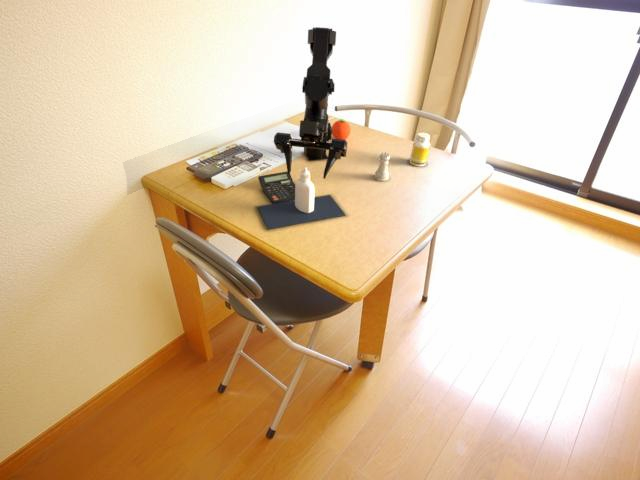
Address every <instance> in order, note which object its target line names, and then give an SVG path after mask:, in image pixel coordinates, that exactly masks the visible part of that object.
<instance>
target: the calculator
mask: <svg viewBox="0 0 640 480" xmlns="http://www.w3.org/2000/svg"><path fill="white" fill-rule="evenodd" d="M257 178H258V181H259V184H260V187H261V190H262V192H263V194H264V195H265V197H266V198H267V199H268V201H269V202H270V204H276V203H283V202H289V201H295V182H294V180H293V177H292V175H291V174H290V175H288V171H282V172H275V173H269V174H264V175H258V177H257Z"/></svg>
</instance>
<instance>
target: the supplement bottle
mask: <svg viewBox="0 0 640 480" xmlns="http://www.w3.org/2000/svg"><path fill="white" fill-rule="evenodd" d="M430 138H431V135H430V134H429V133H427V132H418V133H417V135H416V139H414V140H413V142H412V147H411V154H410V157H409V163H410V164H411V165H412V166H416V167H424V166H426V164H427V160H428V157H429V152H430V148H431V143H430Z"/></svg>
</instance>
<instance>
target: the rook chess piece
mask: <svg viewBox="0 0 640 480" xmlns="http://www.w3.org/2000/svg"><path fill="white" fill-rule="evenodd" d="M379 159H380V160H379V161H378V162H379V166H378V168H377V169H376V171H375V172H374V178H375V180H377V181H379V182H386V181H388V180H389V179H390V172H389V170H388V165H389V163H390V162H389V160H390V159H391V156H390V153H389V152H381V153H380V155H379Z"/></svg>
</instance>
